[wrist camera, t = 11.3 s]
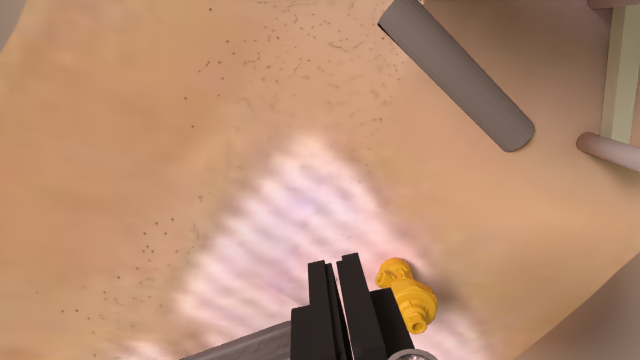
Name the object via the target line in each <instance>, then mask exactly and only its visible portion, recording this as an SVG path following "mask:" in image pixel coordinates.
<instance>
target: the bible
mask: <svg viewBox="0 0 640 360" xmlns="http://www.w3.org/2000/svg"><path fill="white" fill-rule="evenodd" d="M290 347H291V321H286V322H283V323H280V324H277V325H274V326H272V327H269V328H266V329H263V330H261V331H258V332H255V333H253V334H250V335H247V336H244V337H241V338H239V339H236V340H234V341H231V342H228V343H225V344H222V345H220V346H217V347H213V348H210V349H208V350H205V351H203V352H200V353H197V354H194V355H191V356H189V357H186V358H183V359H180V360H290Z"/></svg>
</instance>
